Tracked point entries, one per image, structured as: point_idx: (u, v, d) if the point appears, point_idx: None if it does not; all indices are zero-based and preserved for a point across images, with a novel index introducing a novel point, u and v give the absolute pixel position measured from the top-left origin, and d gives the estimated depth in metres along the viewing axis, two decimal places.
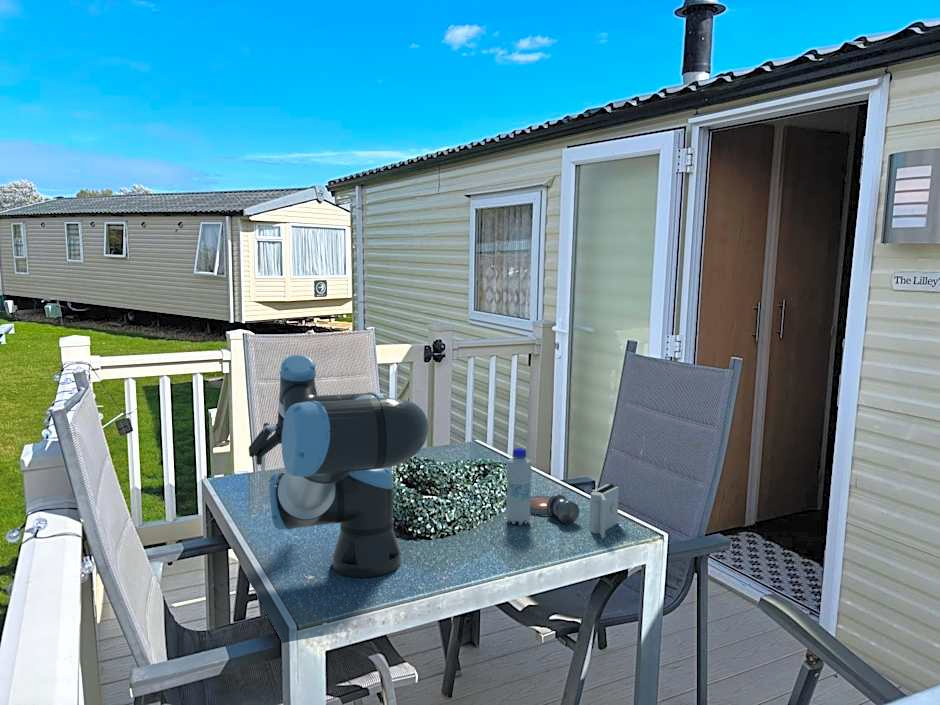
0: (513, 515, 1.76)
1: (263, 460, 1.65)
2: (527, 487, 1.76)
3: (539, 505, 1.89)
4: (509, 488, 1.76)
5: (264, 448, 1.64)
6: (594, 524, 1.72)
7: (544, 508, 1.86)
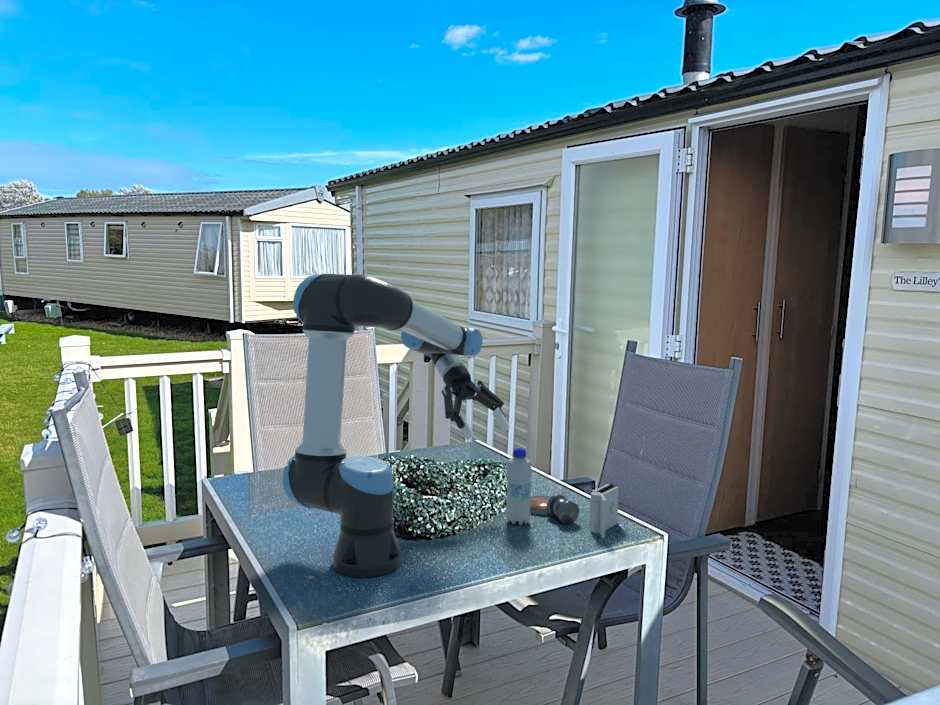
0: (513, 515, 1.76)
1: (463, 416, 1.82)
2: (527, 487, 1.76)
3: (539, 505, 1.89)
4: (509, 488, 1.76)
5: (456, 407, 1.84)
6: (594, 524, 1.72)
7: (544, 508, 1.86)
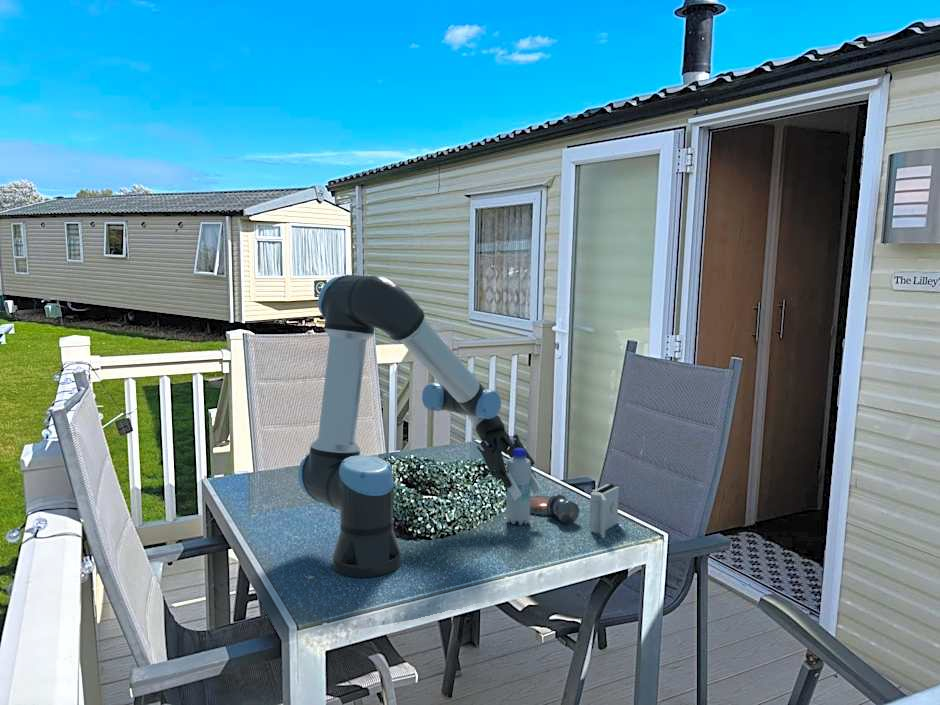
0: (513, 515, 1.76)
1: (510, 475, 1.74)
2: (527, 487, 1.76)
3: (539, 505, 1.89)
4: None
5: (499, 464, 1.76)
6: (594, 524, 1.72)
7: (544, 508, 1.86)
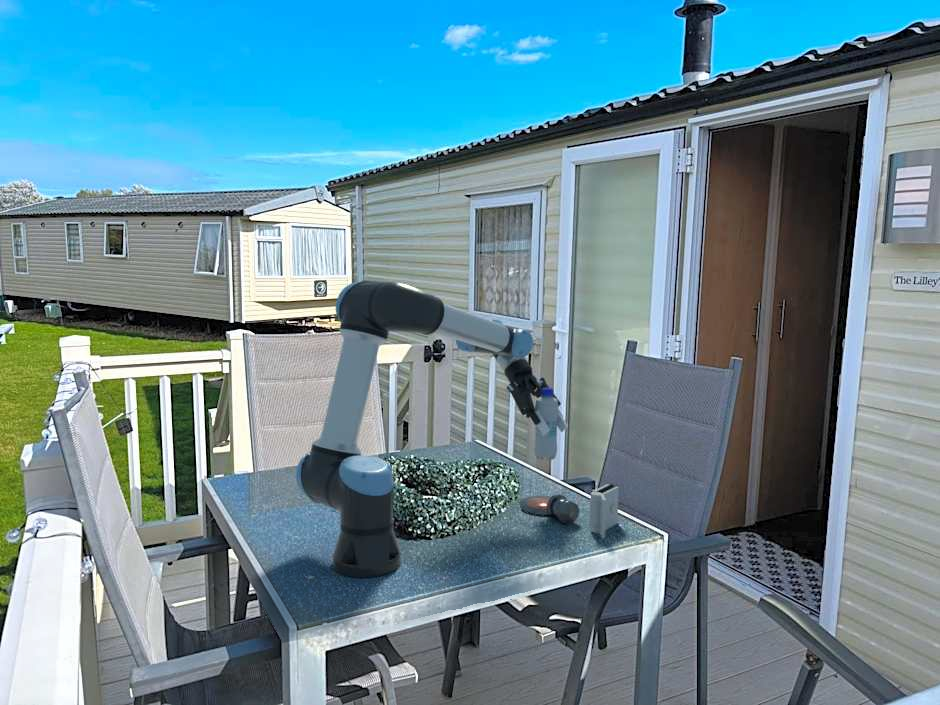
0: (541, 451, 1.86)
1: (538, 413, 1.84)
2: (554, 424, 1.86)
3: (539, 505, 1.89)
4: None
5: (528, 403, 1.86)
6: (594, 524, 1.72)
7: (544, 508, 1.86)
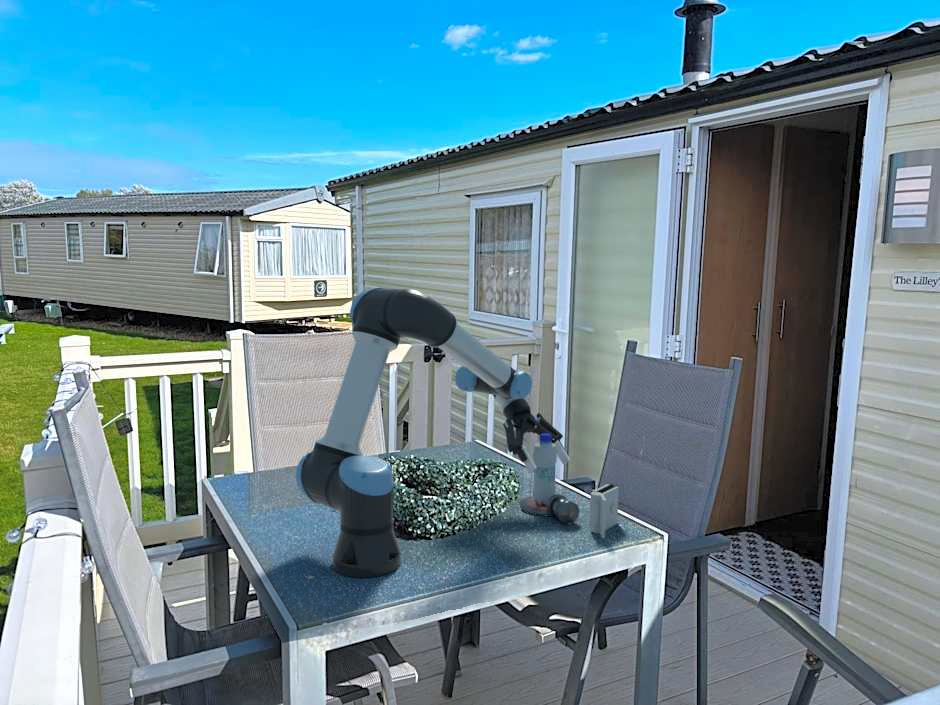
0: (539, 496, 1.87)
1: (525, 450, 1.85)
2: (553, 470, 1.87)
3: (539, 505, 1.89)
4: (536, 471, 1.88)
5: (518, 440, 1.87)
6: (594, 524, 1.72)
7: (544, 508, 1.86)
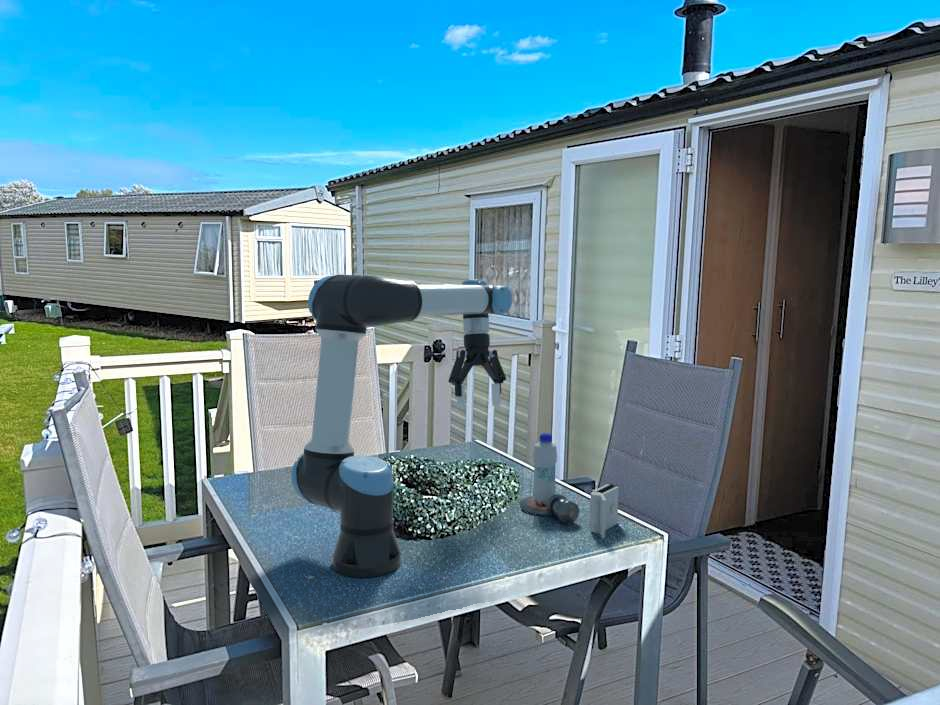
0: (539, 496, 1.87)
1: (463, 388, 1.90)
2: (553, 470, 1.87)
3: (539, 505, 1.89)
4: (536, 471, 1.88)
5: (462, 374, 1.91)
6: (594, 524, 1.72)
7: (544, 508, 1.86)
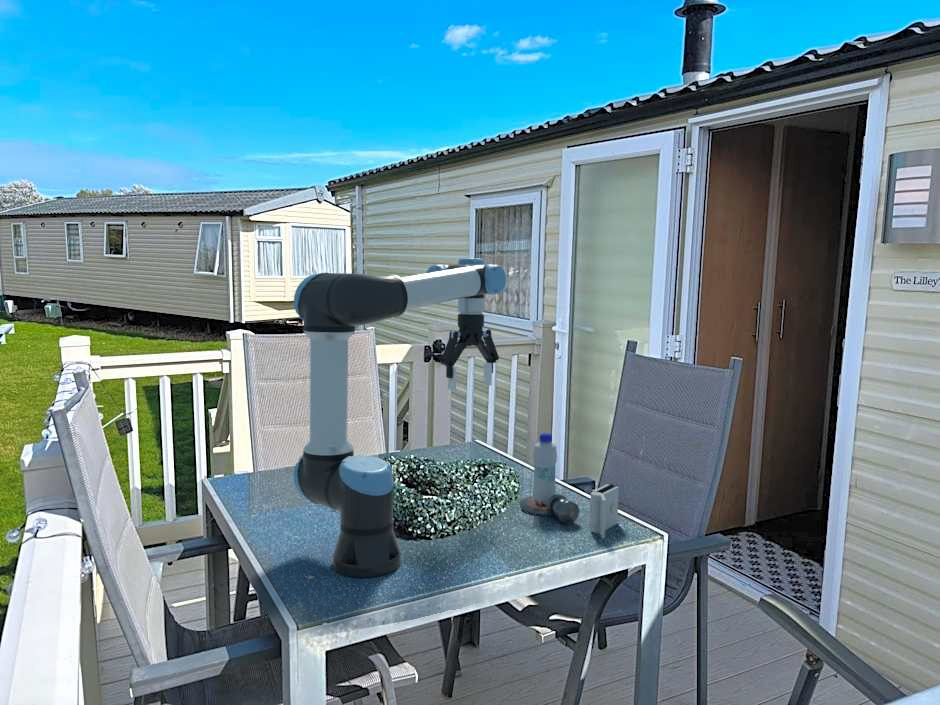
0: (539, 496, 1.87)
1: (455, 369, 1.88)
2: (553, 470, 1.87)
3: (539, 505, 1.89)
4: (536, 471, 1.88)
5: (454, 356, 1.89)
6: (594, 524, 1.72)
7: (544, 508, 1.86)
